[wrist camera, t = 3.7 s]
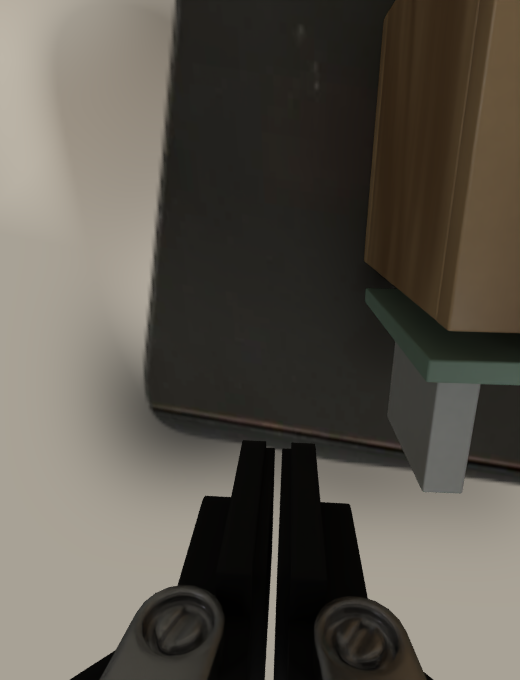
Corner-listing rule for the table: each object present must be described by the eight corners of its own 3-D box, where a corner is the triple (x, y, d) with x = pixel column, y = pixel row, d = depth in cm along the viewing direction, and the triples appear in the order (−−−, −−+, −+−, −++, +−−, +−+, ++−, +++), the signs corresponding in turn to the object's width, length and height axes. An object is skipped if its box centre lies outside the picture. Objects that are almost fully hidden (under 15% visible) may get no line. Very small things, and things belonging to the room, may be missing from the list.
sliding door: (356, 394, 21) (406, 530, 12) (365, 287, 19) (429, 359, 11) (539, 400, 21) (716, 543, 12) (562, 292, 19) (782, 370, 11)
